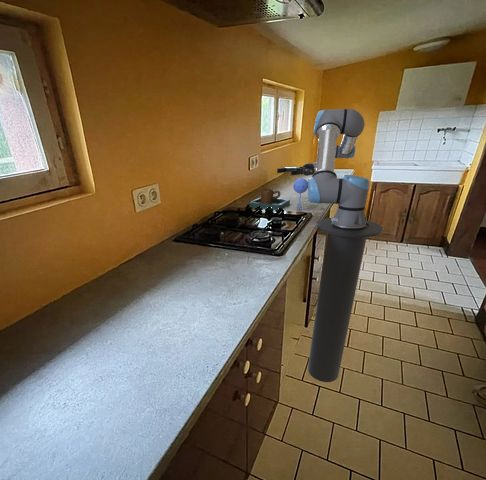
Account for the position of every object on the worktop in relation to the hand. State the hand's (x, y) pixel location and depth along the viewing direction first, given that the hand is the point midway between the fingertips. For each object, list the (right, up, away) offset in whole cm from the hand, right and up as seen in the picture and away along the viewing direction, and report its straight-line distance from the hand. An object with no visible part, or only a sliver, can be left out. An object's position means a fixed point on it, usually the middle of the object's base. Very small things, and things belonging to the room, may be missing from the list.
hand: (284, 171), depth 187 cm
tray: (-8, -20, +5) cm, 22 cm away
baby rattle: (+7, -22, -8) cm, 25 cm away
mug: (-8, -20, +4) cm, 22 cm away
